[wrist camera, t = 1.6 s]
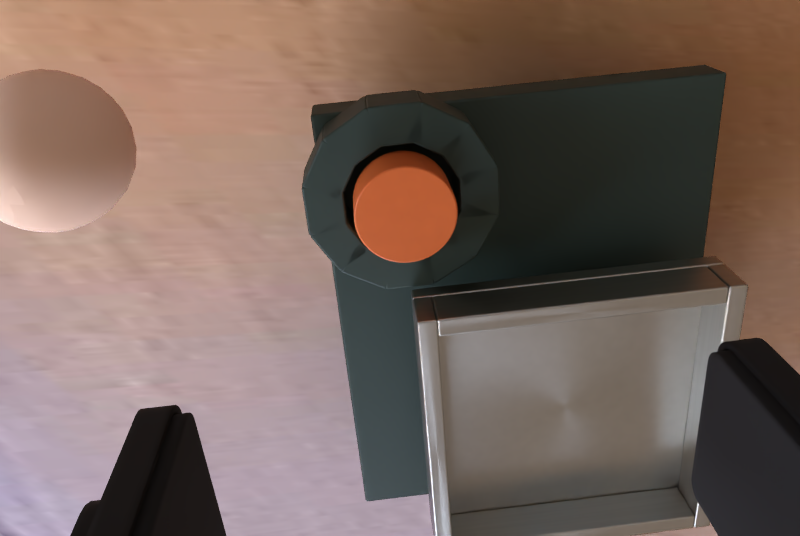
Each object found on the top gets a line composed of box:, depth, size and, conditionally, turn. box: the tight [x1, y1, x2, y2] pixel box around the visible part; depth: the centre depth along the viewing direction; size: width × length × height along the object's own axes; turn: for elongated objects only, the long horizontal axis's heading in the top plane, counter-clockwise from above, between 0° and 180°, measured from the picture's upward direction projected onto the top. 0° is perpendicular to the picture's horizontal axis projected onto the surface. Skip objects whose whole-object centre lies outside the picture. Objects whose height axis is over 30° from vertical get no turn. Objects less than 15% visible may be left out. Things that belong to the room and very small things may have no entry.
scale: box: [302, 65, 726, 501], centre depth 25 cm, size 16×14×3 cm
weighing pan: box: [411, 256, 748, 536], centre depth 24 cm, size 10×10×2 cm
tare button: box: [353, 151, 458, 263], centre depth 21 cm, size 3×3×2 cm
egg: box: [0, 69, 136, 232], centre depth 20 cm, size 4×4×6 cm
